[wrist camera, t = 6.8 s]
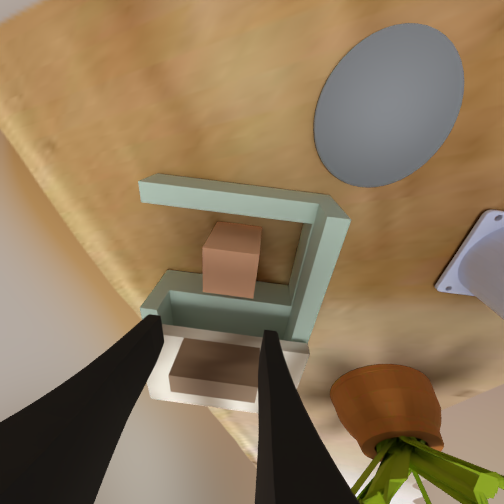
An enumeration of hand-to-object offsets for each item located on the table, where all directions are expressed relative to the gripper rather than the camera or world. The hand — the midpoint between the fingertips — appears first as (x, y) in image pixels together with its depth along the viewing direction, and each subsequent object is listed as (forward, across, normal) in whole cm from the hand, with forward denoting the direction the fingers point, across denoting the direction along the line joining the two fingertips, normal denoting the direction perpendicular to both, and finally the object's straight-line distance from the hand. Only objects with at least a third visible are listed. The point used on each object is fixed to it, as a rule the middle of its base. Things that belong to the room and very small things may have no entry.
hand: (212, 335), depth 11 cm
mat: (+10, -9, -11) cm, 18 cm away
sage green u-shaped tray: (+10, 0, +4) cm, 11 cm away
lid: (+5, 0, +10) cm, 11 cm away
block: (+10, 0, 0) cm, 10 cm away
